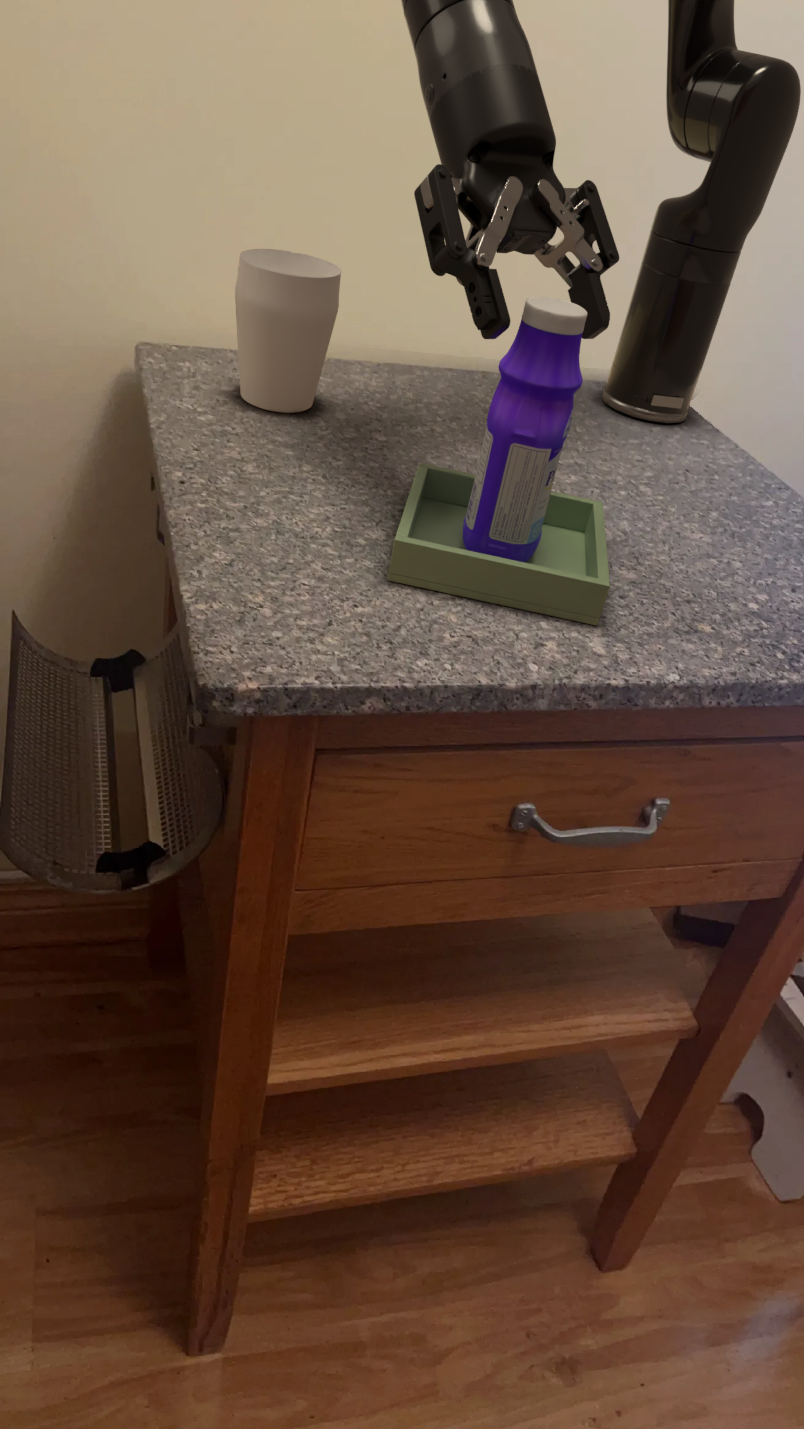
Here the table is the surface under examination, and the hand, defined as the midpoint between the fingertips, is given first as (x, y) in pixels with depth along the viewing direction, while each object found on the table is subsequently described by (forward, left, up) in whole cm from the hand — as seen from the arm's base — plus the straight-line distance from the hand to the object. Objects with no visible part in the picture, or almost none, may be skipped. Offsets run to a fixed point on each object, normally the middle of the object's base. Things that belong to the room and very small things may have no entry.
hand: (548, 333), depth 67 cm
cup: (-22, -22, -16) cm, 35 cm away
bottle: (0, 0, -16) cm, 16 cm away
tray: (0, 0, -16) cm, 16 cm away
